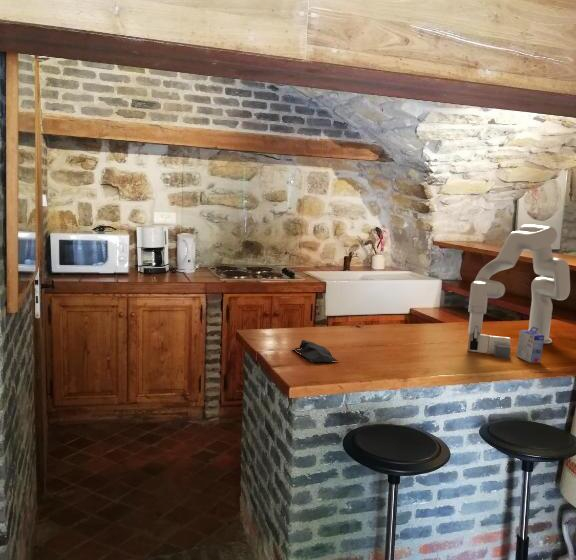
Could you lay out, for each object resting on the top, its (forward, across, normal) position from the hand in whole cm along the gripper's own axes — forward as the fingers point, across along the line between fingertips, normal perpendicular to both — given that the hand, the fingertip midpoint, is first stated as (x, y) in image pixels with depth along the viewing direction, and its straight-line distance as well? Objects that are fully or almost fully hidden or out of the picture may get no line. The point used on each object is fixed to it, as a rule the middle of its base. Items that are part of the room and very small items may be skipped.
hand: (473, 348), depth 255 cm
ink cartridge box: (+2, +3, +23) cm, 23 cm away
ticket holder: (+1, 0, +10) cm, 11 cm away
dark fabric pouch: (+2, +34, -65) cm, 74 cm away
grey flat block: (+1, 0, +2) cm, 2 cm away
